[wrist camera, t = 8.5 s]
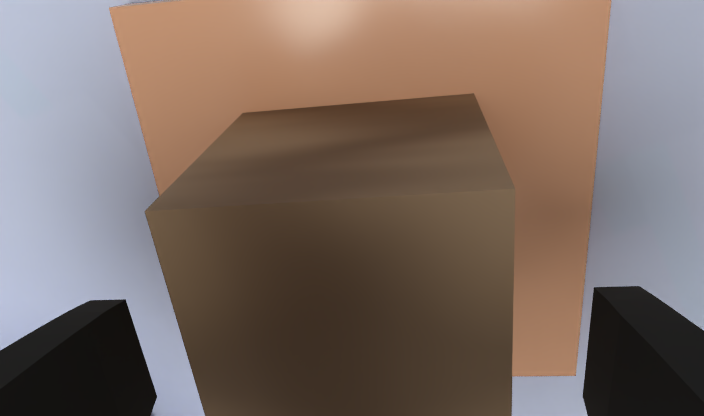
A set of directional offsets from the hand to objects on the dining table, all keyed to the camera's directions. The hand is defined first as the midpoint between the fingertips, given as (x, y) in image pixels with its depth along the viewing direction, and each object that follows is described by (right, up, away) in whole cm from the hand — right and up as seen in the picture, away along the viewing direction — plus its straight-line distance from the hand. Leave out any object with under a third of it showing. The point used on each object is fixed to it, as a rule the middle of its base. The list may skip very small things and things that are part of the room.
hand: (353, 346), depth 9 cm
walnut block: (0, +2, +4) cm, 5 cm away
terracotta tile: (0, +2, +5) cm, 6 cm away
